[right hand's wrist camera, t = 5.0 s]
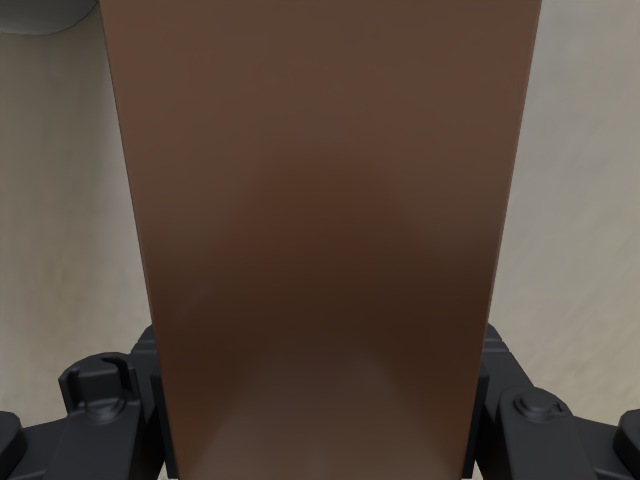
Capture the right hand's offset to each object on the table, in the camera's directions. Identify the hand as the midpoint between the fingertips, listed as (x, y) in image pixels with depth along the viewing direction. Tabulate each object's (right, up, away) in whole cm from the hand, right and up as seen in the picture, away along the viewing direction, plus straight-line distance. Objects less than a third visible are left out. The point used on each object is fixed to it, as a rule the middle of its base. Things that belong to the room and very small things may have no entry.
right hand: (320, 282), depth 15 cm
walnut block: (0, +9, -3) cm, 10 cm away
